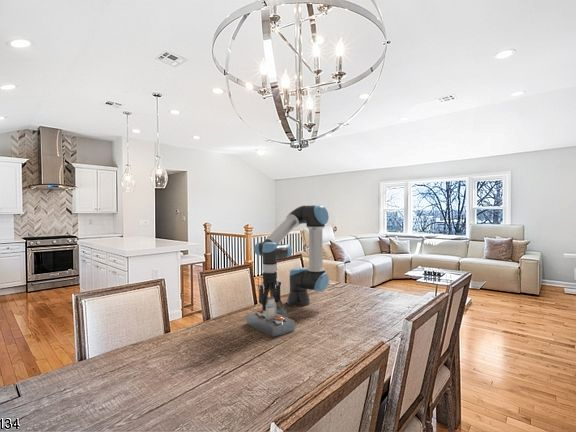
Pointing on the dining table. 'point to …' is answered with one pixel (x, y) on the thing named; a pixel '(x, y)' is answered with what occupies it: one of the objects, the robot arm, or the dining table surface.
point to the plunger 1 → (260, 311)
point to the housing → (270, 324)
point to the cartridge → (270, 308)
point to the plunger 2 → (278, 319)
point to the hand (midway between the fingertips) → (269, 315)
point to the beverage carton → (281, 309)
